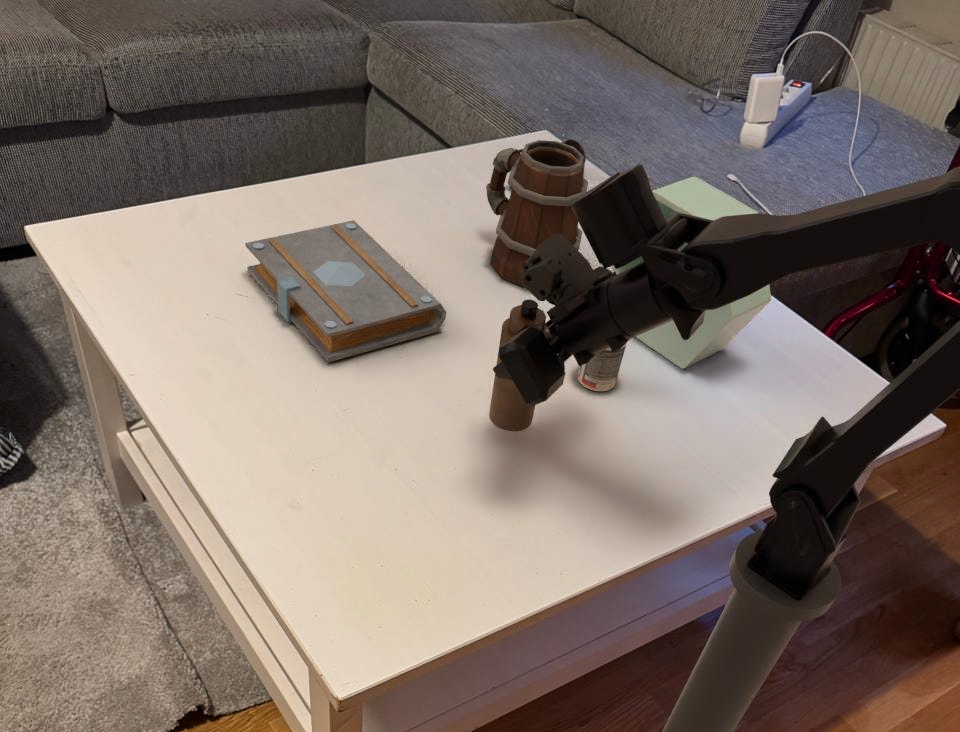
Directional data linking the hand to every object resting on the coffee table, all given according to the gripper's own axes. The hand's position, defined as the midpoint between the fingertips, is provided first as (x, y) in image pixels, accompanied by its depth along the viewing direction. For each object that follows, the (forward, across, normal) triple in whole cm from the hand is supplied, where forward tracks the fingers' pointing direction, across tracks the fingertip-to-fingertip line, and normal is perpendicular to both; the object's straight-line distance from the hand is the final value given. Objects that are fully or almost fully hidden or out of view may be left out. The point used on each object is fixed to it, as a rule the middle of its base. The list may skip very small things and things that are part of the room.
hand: (508, 361), depth 95 cm
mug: (+18, -33, -5) cm, 38 cm away
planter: (+1, -30, +12) cm, 33 cm away
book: (+26, -8, -13) cm, 30 cm away
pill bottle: (+3, -16, +10) cm, 19 cm away
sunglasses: (+24, -56, -12) cm, 62 cm away
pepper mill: (+4, 0, +6) cm, 7 cm away
